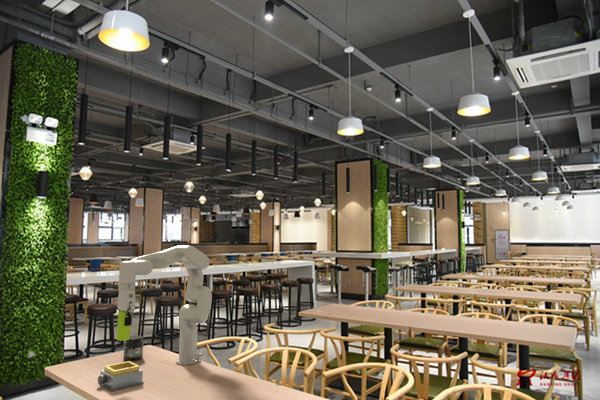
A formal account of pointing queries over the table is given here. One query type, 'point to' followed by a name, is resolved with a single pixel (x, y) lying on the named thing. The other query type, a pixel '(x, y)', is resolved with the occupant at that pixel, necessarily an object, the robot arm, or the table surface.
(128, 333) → the soap dispenser
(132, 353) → the supplement container
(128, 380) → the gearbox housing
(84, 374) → the table surface
